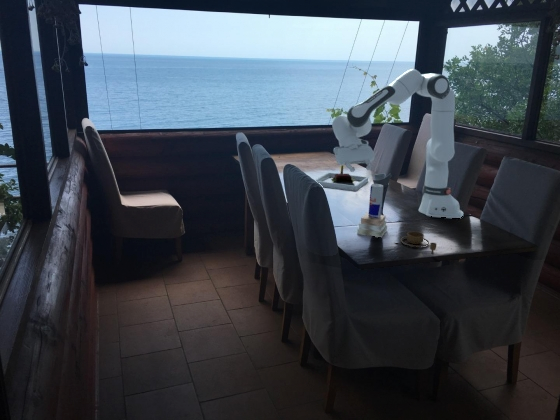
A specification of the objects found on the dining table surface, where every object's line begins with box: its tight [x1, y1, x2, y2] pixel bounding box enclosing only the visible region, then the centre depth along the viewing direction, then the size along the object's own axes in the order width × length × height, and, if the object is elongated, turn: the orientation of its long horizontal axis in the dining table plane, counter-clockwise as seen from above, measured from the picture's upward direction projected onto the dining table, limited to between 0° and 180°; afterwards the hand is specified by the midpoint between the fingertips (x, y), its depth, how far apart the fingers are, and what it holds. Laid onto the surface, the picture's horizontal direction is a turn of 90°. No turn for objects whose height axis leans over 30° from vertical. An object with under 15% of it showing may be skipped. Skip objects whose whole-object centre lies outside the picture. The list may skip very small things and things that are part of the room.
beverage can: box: [368, 183, 384, 218], centre depth 221 cm, size 6×6×15 cm
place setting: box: [400, 231, 437, 255], centre depth 208 cm, size 18×20×6 cm
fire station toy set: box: [330, 165, 355, 186], centre depth 308 cm, size 14×20×11 cm
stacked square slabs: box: [356, 212, 388, 238], centre depth 224 cm, size 11×11×8 cm
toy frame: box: [315, 171, 369, 192], centre depth 313 cm, size 28×28×3 cm
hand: (361, 170), depth 227 cm, fingers open, 8 cm apart
